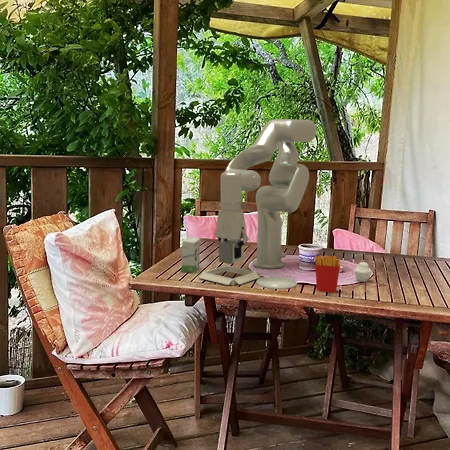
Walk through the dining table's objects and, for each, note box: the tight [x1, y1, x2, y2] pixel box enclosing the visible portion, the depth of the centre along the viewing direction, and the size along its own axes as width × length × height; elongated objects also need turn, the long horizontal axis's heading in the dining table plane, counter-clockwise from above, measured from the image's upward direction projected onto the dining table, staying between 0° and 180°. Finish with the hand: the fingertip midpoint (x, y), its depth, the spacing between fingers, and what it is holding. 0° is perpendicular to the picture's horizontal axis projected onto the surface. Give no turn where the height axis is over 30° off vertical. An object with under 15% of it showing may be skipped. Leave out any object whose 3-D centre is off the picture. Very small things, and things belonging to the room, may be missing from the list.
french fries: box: [314, 254, 341, 293], centre depth 177 cm, size 8×4×12 cm, turn 73°
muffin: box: [353, 261, 373, 283], centre depth 191 cm, size 6×6×7 cm
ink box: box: [181, 236, 201, 273], centre depth 202 cm, size 9×5×12 cm, turn 168°
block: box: [218, 239, 245, 265], centre depth 191 cm, size 8×5×7 cm, turn 141°
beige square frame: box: [197, 264, 261, 286], centre depth 192 cm, size 18×18×2 cm
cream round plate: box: [256, 276, 298, 290], centre depth 186 cm, size 14×14×1 cm
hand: (231, 256), depth 192 cm, fingers closed on block, 5 cm apart
